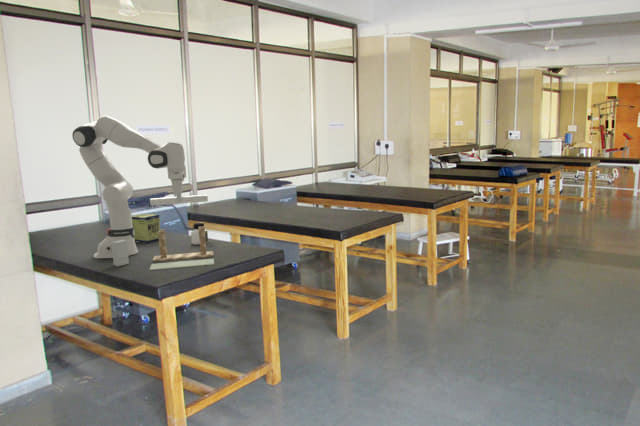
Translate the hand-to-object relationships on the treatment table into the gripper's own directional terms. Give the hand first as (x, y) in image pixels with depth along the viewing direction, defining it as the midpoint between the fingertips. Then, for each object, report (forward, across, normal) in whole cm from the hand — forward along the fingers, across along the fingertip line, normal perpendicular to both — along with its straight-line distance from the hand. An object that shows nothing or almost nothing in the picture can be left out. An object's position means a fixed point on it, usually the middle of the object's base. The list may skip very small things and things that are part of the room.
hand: (179, 201), depth 258 cm
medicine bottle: (+30, -34, +8) cm, 46 cm away
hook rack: (+29, -2, 0) cm, 29 cm away
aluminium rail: (+1, 0, 0) cm, 1 cm away
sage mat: (+29, +14, 0) cm, 32 cm away
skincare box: (+29, +3, -30) cm, 42 cm away
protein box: (+30, -54, -24) cm, 66 cm away
